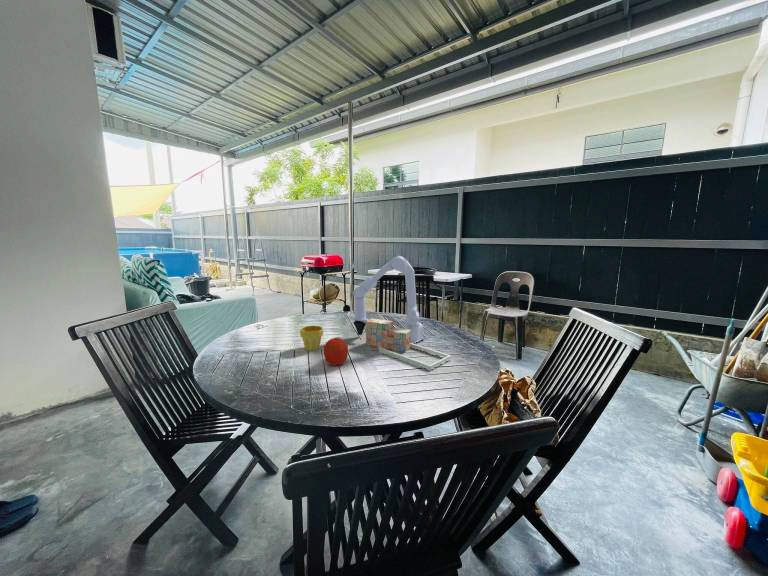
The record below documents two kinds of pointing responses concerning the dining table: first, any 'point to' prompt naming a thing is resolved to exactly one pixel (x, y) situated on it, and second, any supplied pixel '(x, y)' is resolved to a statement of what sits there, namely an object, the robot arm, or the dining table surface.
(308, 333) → the plant pot
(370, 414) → the dining table surface
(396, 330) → the stack of blocks
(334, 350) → the apple
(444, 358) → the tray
